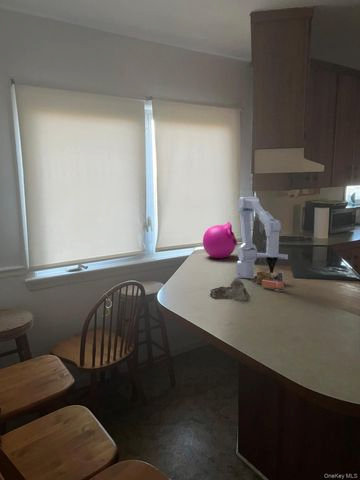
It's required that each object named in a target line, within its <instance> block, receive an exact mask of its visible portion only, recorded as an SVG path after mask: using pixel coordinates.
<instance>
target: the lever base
mask: <svg viewBox="0 0 360 480" xmlns="http://www.w3.org/2000/svg"><path fill="white" fill-rule="evenodd" d="M273 290H274V292H276V293H284V292H286V288H284V289H282V290H279V289H276V288H273Z"/></svg>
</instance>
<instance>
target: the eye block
mask: <svg viewBox="0 0 360 480" xmlns="http://www.w3.org/2000/svg"><path fill="white" fill-rule="evenodd" d="M269 275H272V273H270V269H269V268H262V267H260V268H258V270H257V271H256V285H262V280H268V281H272V279H269Z"/></svg>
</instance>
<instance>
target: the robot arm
mask: <svg viewBox="0 0 360 480" xmlns="http://www.w3.org/2000/svg"><path fill="white" fill-rule="evenodd" d="M237 210H238V213H239V217H240V227H241V229H240V230H241V240H242V244H240V245H239V246H238V248H237V249H238V250H237V251H238V252H237V258H238V260H237V261H236V277H235V278H239V279H240V278H243V279H252V280H253V279H254V278H255V277H257V273H256V274H255V262H256V260H257V259H258V258H266V259H265V260H266V262H267V266H268V267H269V268H268V269H270V273H271V274H273V273H274V270H275V266H276V264H277V262H278V259H282V260H283V259H284V260H288V259H289V257H288V256H289V254H283V253H279V248H280V241H279V240H280V232H281V231H282V228H283V224H282V222H281V220H280V219H275V218H274V217H273V215H271V213H270V211H268V210H265V209H264V208H263V206H262V205H261V204H260V199H259V198H258V197H257V196H240V197H239V199H238V201H237ZM253 212H255V213H256V214H257V215H258V220H259V221H260V222H261V223H262V225H264V231H265V236H266V248H265V250H266V252H258V249H257V245H255V244H254V243H253V238H252V228H251V227H252V226H251V224H252V223H251V214H252V213H253Z"/></svg>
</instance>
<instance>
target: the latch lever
mask: <svg viewBox="0 0 360 480" xmlns="http://www.w3.org/2000/svg"><path fill="white" fill-rule="evenodd" d="M284 284H285V283H284V281H283V282H280V281H278V282H277V281H276V280H270V281H268V280H262V284H261V287H263V288H264V287H265V288H273V289H274V288H276V289H279V290H282V289H285V287H284V286H285V285H284Z"/></svg>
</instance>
